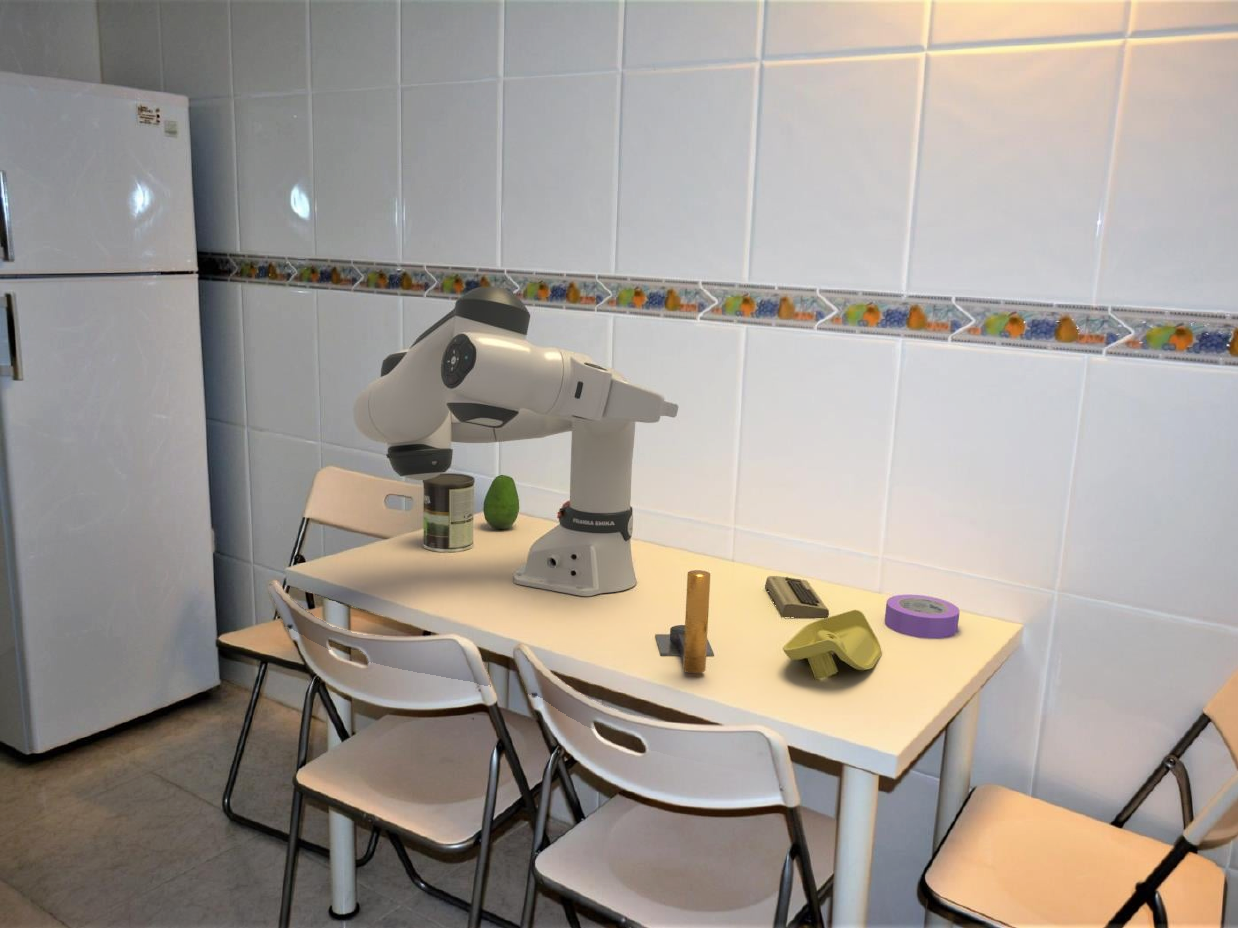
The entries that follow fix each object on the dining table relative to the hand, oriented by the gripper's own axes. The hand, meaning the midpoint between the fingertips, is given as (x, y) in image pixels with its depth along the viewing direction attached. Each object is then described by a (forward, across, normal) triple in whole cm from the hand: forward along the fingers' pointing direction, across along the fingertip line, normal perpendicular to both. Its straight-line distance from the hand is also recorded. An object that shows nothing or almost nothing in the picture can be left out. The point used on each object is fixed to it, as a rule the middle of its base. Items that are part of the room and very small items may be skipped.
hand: (657, 405), depth 139 cm
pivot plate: (+18, -6, -36) cm, 41 cm away
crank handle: (+16, -1, -35) cm, 39 cm away
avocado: (+18, -82, -38) cm, 92 cm away
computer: (+47, -17, -30) cm, 58 cm away
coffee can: (+3, -73, -41) cm, 84 cm away
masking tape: (+59, +1, -27) cm, 65 cm away
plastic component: (+35, +8, -32) cm, 48 cm away
